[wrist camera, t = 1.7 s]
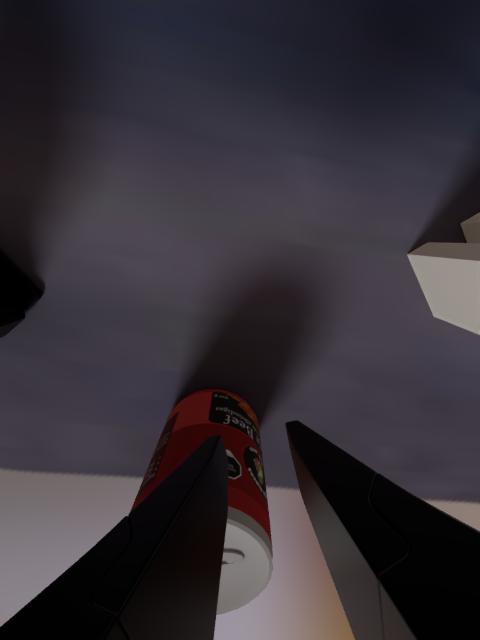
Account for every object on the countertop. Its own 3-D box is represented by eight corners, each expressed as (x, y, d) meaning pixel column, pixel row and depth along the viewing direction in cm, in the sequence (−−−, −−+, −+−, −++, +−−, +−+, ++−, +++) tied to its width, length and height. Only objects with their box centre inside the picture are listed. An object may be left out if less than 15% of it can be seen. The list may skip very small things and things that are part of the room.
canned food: (272, 439, 24) (298, 593, 14) (194, 470, 25) (163, 635, 15) (234, 370, 22) (231, 489, 12) (152, 407, 23) (80, 547, 13)
